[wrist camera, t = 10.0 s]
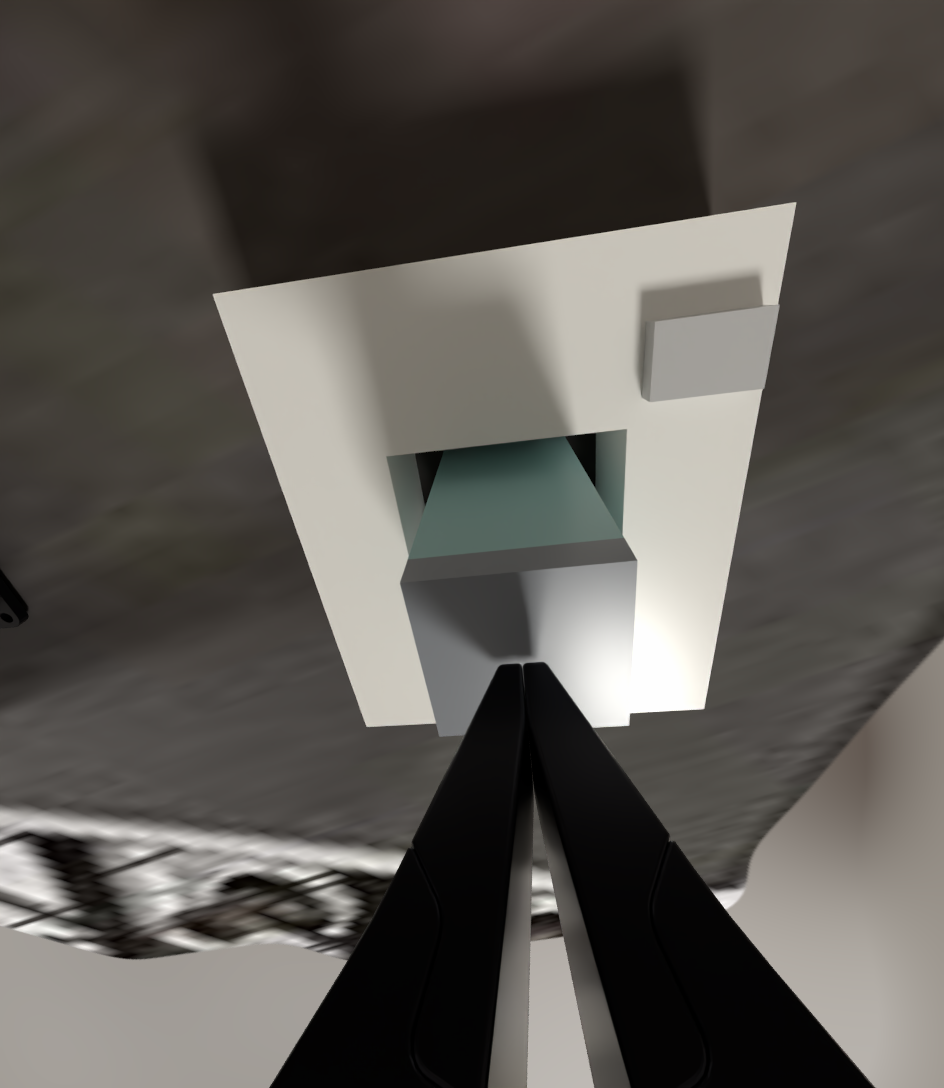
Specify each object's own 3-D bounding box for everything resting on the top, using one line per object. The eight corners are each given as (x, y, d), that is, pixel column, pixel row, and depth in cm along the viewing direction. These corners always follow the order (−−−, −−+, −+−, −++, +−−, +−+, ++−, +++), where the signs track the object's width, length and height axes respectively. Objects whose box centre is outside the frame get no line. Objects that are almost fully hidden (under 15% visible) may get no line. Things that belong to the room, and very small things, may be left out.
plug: (461, 553, 16) (439, 736, 9) (444, 450, 14) (399, 583, 7) (568, 542, 16) (628, 725, 9) (564, 435, 14) (637, 560, 7)
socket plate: (387, 659, 19) (362, 741, 15) (281, 298, 12) (196, 293, 9) (667, 640, 18) (711, 723, 14) (713, 231, 11) (816, 195, 8)
